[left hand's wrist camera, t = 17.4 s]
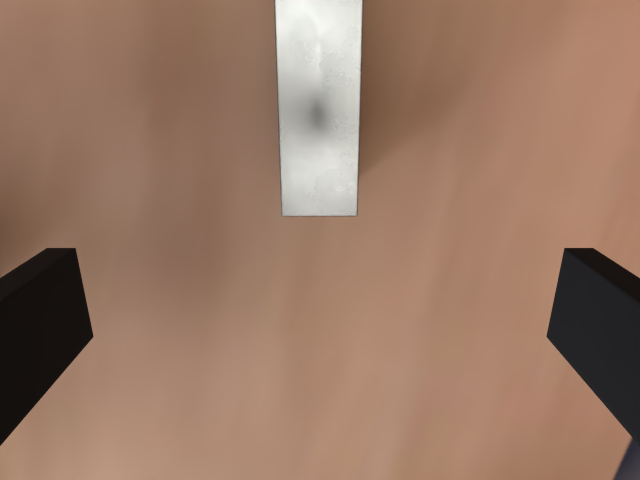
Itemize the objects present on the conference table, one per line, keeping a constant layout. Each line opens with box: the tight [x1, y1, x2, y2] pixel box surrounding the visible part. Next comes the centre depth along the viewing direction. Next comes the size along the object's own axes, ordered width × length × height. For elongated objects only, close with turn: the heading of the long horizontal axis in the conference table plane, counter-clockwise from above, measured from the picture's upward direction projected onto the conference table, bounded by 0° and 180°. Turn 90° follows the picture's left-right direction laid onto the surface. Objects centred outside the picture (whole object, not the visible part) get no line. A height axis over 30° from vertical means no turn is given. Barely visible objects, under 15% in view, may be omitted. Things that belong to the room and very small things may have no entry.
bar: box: [274, 0, 363, 216], centre depth 32 cm, size 22×5×10 cm, turn 0°
